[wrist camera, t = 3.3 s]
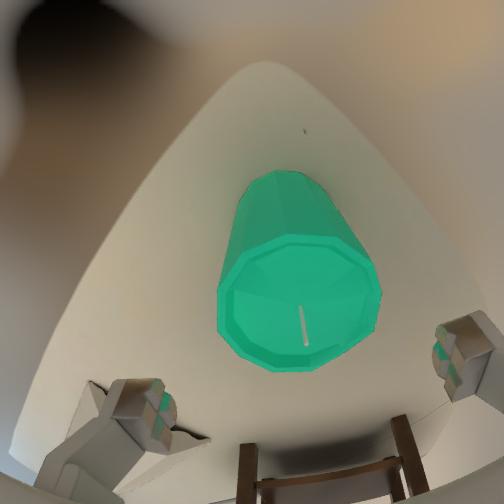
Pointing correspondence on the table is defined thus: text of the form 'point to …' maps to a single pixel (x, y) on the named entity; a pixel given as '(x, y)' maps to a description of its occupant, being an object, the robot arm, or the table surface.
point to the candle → (294, 278)
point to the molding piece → (150, 461)
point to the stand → (338, 477)
